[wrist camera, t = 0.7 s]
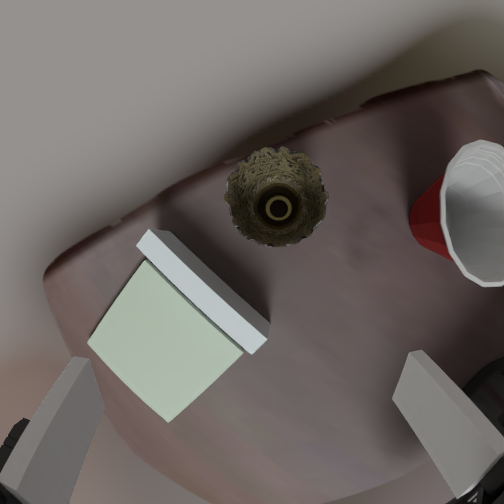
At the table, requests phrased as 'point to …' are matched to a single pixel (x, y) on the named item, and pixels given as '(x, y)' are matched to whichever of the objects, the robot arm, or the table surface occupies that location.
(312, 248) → the table surface
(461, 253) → the plastic cup
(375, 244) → the table surface
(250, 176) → the cup
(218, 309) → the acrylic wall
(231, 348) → the green pad
